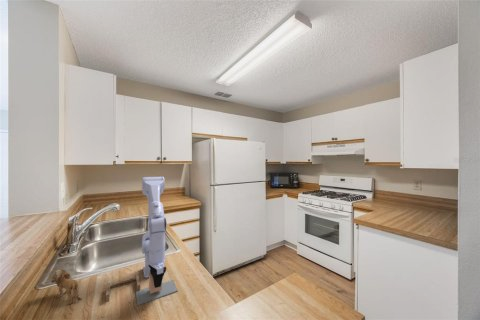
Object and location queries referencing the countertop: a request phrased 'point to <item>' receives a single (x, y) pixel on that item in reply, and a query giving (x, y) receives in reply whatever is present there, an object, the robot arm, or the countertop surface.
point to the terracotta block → (151, 285)
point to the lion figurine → (65, 284)
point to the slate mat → (145, 295)
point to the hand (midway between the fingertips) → (156, 283)
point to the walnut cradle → (122, 284)
